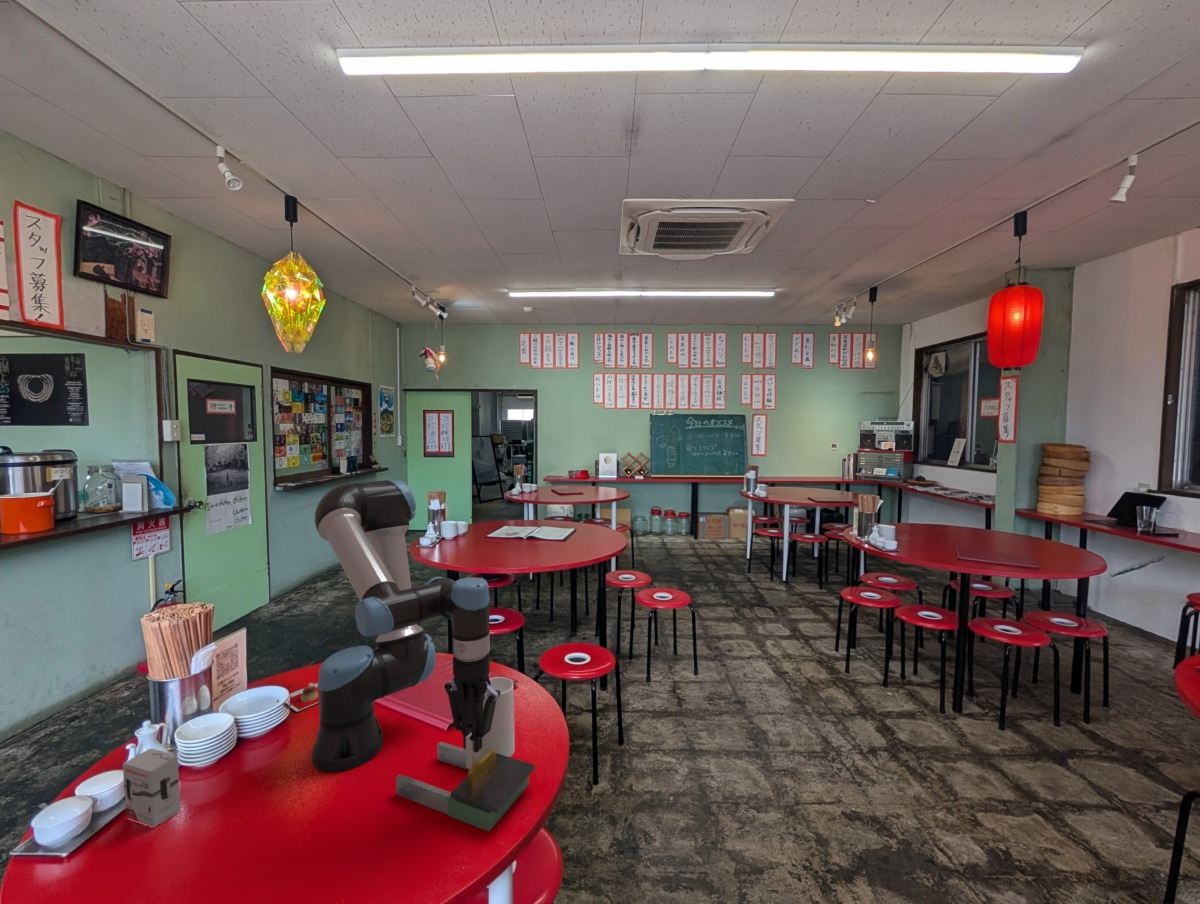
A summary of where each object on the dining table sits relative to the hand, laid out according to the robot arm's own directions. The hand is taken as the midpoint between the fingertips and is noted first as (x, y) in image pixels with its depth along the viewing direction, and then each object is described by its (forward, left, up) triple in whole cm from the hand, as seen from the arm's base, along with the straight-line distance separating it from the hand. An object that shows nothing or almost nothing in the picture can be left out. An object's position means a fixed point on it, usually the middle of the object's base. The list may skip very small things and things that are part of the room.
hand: (473, 764), depth 104 cm
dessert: (-69, +12, -7) cm, 70 cm away
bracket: (-8, 0, -6) cm, 10 cm away
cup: (-4, +13, -6) cm, 15 cm away
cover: (+6, 0, -2) cm, 6 cm away
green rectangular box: (+4, 0, -6) cm, 8 cm away
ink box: (-55, -31, -6) cm, 63 cm away
